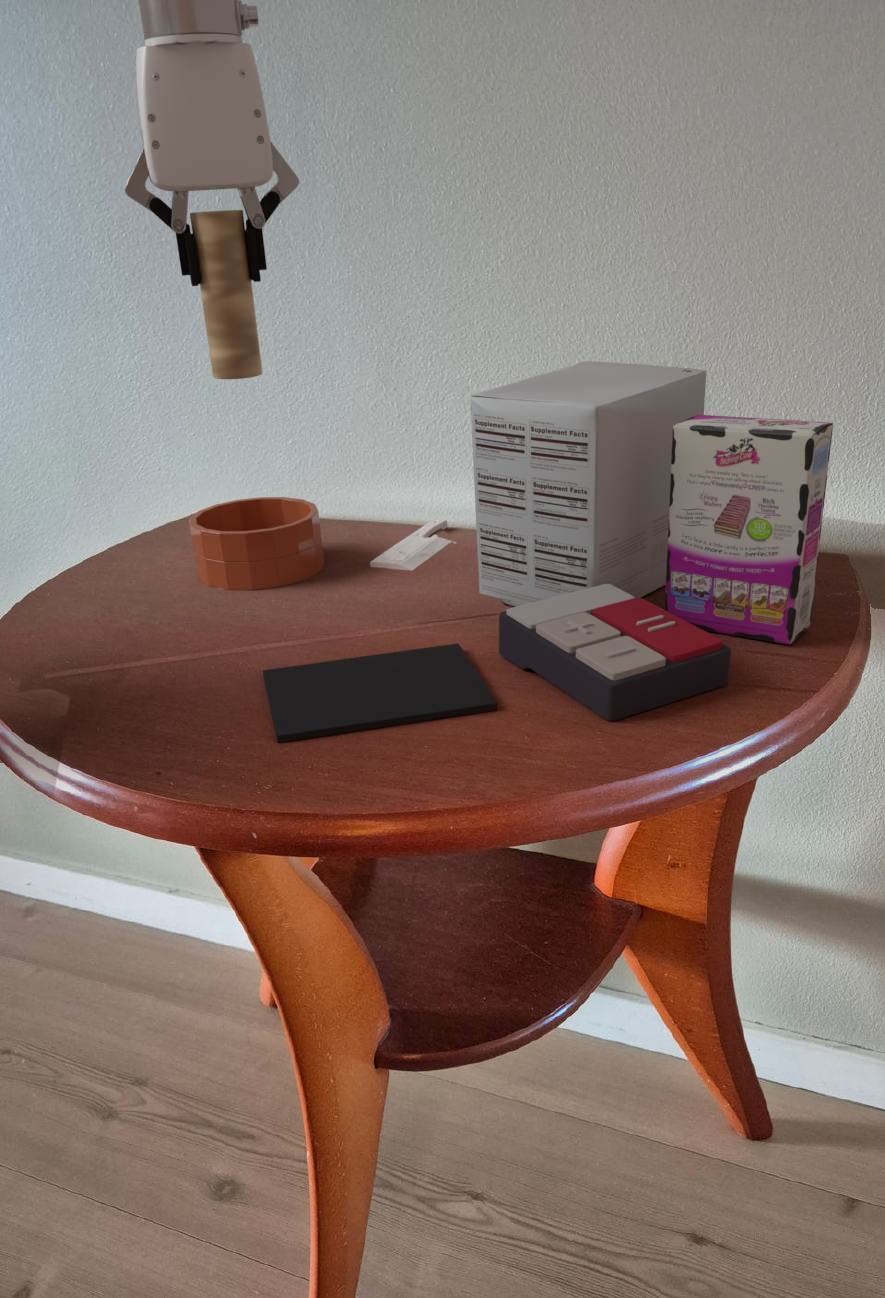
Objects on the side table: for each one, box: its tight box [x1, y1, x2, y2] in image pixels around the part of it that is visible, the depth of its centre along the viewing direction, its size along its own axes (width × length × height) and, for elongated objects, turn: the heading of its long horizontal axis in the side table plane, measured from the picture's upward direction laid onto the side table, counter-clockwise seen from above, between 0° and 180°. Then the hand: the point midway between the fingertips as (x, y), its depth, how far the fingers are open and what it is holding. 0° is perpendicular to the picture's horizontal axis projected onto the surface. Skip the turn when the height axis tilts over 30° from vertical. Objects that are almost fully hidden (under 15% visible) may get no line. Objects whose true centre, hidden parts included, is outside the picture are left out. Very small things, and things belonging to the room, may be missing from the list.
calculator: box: [498, 584, 732, 722], centre depth 83 cm, size 11×4×15 cm
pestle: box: [189, 209, 263, 380], centre depth 94 cm, size 4×4×13 cm
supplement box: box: [469, 360, 707, 607], centre depth 97 cm, size 17×13×18 cm
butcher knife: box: [369, 518, 458, 572], centre depth 112 cm, size 5×15×1 cm, turn 155°
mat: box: [262, 643, 499, 744], centre depth 83 cm, size 16×12×1 cm
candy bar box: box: [663, 414, 834, 646], centre depth 86 cm, size 11×5×16 cm, turn 55°
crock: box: [188, 496, 325, 592], centre depth 107 cm, size 12×12×6 cm
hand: (225, 280), depth 94 cm, fingers closed on pestle, 4 cm apart
